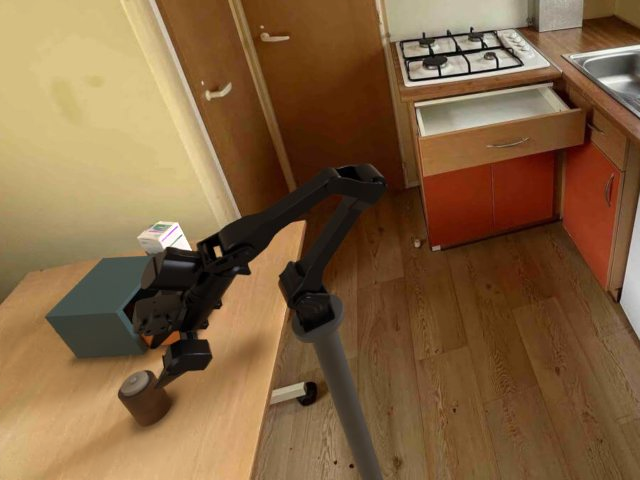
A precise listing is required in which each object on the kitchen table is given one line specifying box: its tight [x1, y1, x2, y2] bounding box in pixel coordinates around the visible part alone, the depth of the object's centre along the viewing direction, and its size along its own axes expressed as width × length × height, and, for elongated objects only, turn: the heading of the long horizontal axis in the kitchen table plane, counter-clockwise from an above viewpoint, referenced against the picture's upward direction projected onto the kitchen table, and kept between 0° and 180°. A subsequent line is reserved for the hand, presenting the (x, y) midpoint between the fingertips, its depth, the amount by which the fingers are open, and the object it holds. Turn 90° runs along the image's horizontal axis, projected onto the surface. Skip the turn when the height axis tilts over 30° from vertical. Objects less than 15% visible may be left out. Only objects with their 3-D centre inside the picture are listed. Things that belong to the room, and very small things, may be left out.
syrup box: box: [136, 220, 193, 256], centre depth 101 cm, size 6×6×14 cm
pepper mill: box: [117, 369, 173, 428], centre depth 75 cm, size 5×5×10 cm
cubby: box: [44, 255, 159, 360], centre depth 89 cm, size 13×14×13 cm
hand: (154, 367), depth 74 cm, fingers open, 9 cm apart
